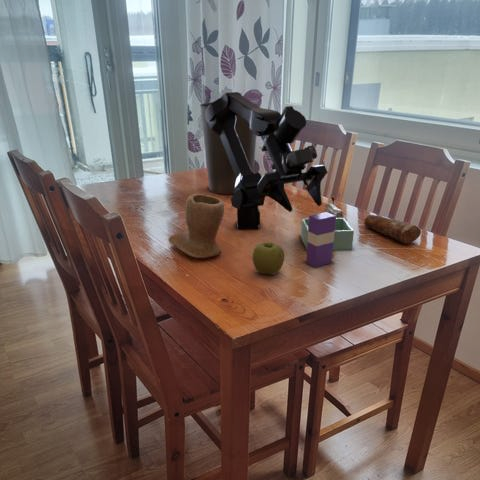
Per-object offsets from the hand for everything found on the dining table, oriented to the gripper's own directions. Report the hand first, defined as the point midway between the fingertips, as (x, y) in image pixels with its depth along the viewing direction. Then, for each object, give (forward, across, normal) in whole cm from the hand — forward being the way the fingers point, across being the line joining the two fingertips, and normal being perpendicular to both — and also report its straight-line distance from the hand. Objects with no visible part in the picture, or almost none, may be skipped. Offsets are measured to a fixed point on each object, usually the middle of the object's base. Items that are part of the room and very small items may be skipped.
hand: (305, 208), depth 118 cm
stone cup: (-3, -22, +21) cm, 30 cm away
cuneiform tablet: (-1, +24, +19) cm, 30 cm away
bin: (+6, +11, +12) cm, 17 cm away
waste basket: (-40, +18, +57) cm, 72 cm away
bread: (+10, +30, +8) cm, 32 cm away
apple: (+12, -14, +6) cm, 20 cm away
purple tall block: (+13, 0, +4) cm, 14 cm away
